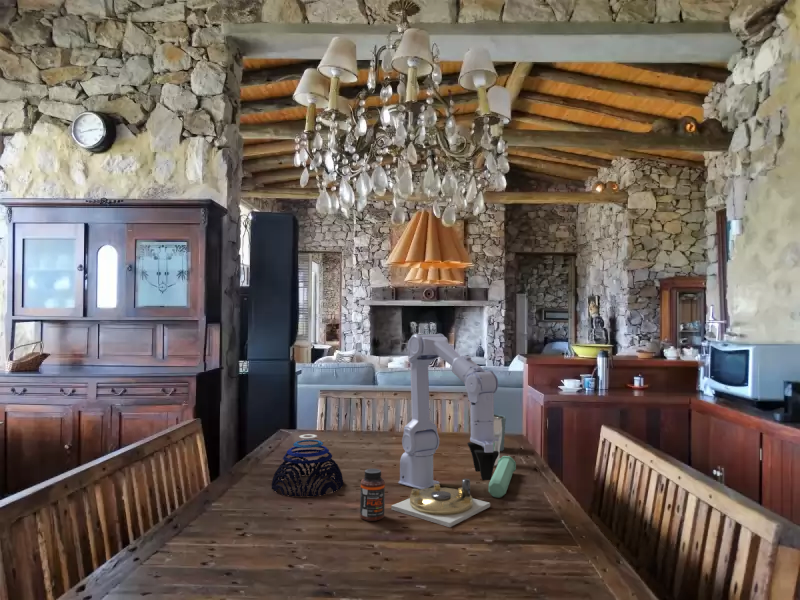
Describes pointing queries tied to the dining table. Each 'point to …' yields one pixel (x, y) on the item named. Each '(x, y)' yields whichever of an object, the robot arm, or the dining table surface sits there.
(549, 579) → the dining table surface
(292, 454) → the decorative bowl
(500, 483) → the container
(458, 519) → the dial plate
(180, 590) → the dining table surface
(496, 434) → the beer glass
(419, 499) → the brass round disc
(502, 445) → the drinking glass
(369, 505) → the supplement bottle
